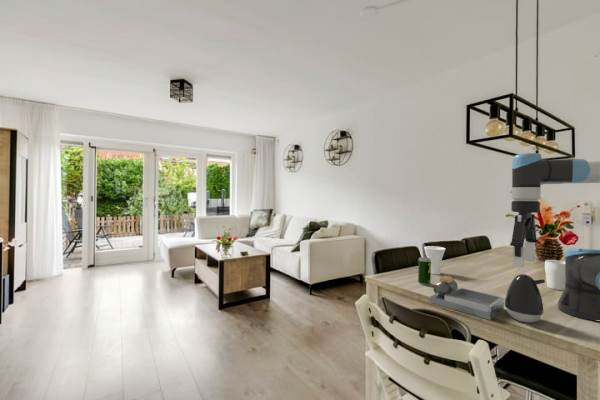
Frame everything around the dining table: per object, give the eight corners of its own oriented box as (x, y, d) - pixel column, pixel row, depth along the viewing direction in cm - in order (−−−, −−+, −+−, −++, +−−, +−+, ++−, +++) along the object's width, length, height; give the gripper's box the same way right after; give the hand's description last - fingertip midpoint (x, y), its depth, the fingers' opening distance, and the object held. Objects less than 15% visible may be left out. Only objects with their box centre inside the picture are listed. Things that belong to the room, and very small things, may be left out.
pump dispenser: (544, 329, 89) (546, 280, 89) (503, 320, 96) (505, 274, 95) (542, 318, 98) (544, 273, 97) (505, 310, 104) (506, 268, 104)
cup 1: (449, 275, 150) (450, 249, 150) (430, 276, 148) (431, 249, 148) (437, 270, 160) (437, 245, 160) (419, 270, 159) (420, 246, 159)
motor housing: (503, 309, 105) (504, 284, 105) (490, 320, 96) (490, 293, 96) (447, 294, 121) (447, 272, 121) (430, 302, 111) (430, 279, 111)
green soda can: (417, 284, 134) (417, 258, 134) (418, 281, 138) (419, 256, 138) (430, 286, 131) (430, 260, 131) (431, 283, 136) (431, 257, 136)
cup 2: (542, 283, 137) (542, 258, 137) (567, 287, 132) (568, 261, 132) (546, 289, 129) (547, 262, 129) (573, 292, 125) (574, 265, 124)
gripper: (521, 200, 107) (520, 257, 107) (500, 200, 91) (498, 267, 91) (548, 200, 101) (546, 260, 102) (530, 200, 85) (528, 272, 86)
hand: (524, 263), depth 97 cm, fingers open, 13 cm apart
